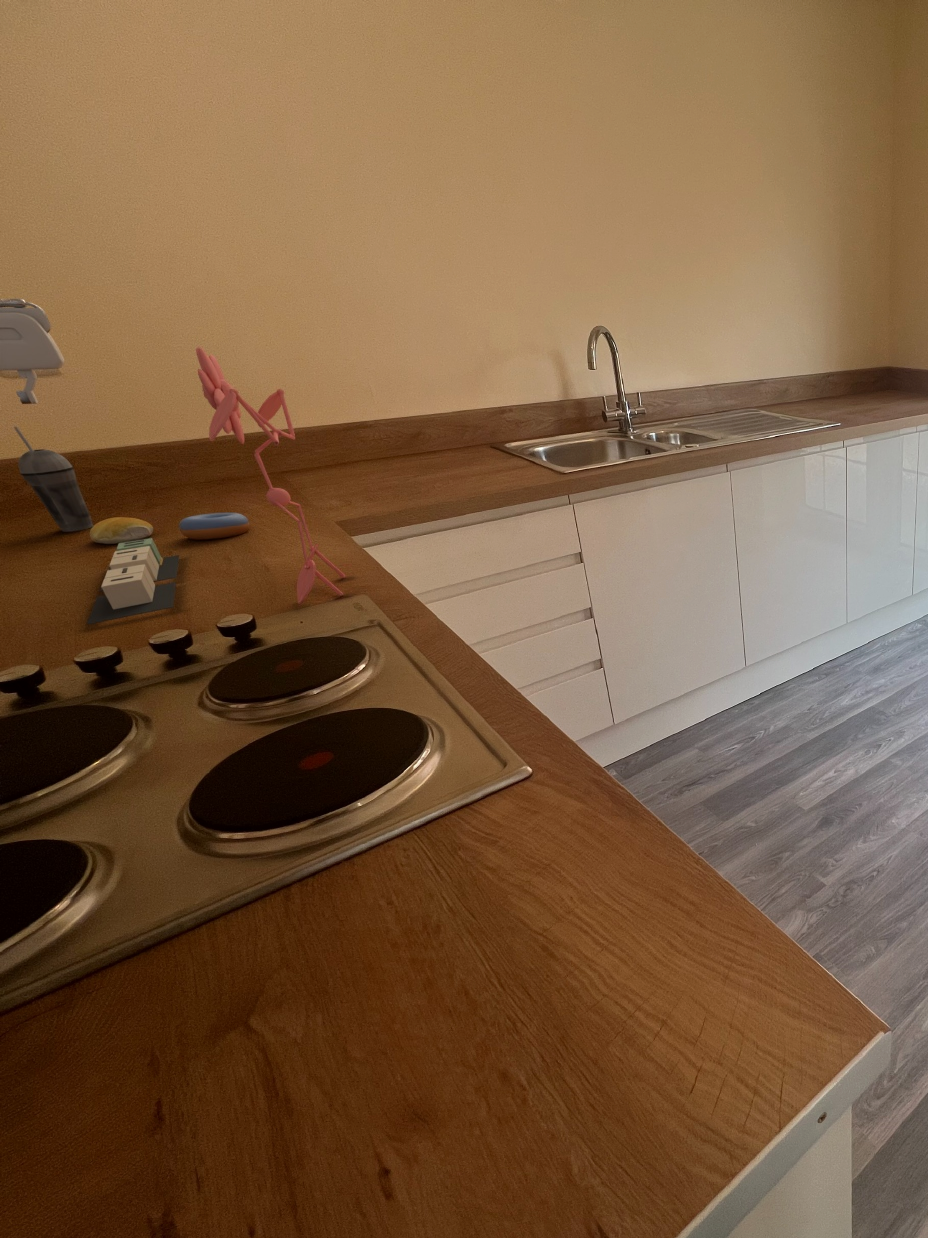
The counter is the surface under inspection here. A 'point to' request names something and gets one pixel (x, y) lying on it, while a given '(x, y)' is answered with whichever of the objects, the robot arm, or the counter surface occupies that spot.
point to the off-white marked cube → (138, 551)
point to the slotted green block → (141, 544)
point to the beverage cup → (55, 487)
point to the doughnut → (214, 526)
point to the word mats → (160, 601)
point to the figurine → (258, 450)
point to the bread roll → (120, 530)
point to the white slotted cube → (131, 571)
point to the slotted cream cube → (135, 563)
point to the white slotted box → (127, 590)
